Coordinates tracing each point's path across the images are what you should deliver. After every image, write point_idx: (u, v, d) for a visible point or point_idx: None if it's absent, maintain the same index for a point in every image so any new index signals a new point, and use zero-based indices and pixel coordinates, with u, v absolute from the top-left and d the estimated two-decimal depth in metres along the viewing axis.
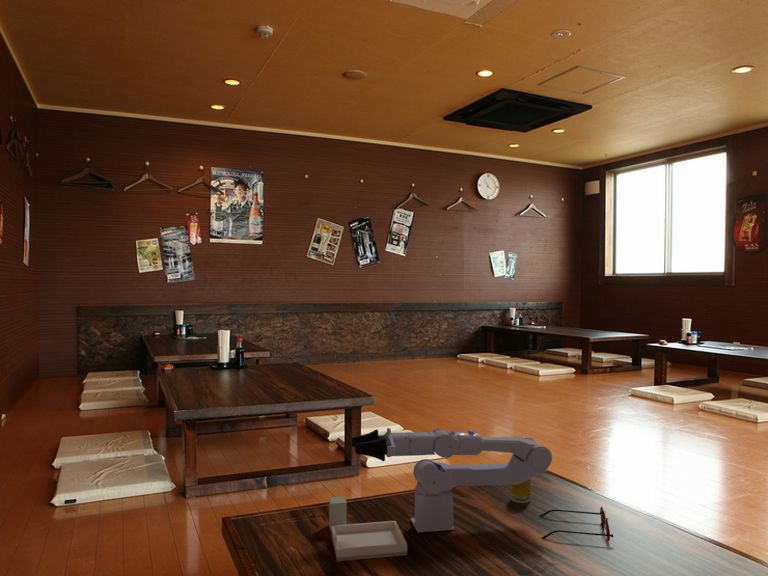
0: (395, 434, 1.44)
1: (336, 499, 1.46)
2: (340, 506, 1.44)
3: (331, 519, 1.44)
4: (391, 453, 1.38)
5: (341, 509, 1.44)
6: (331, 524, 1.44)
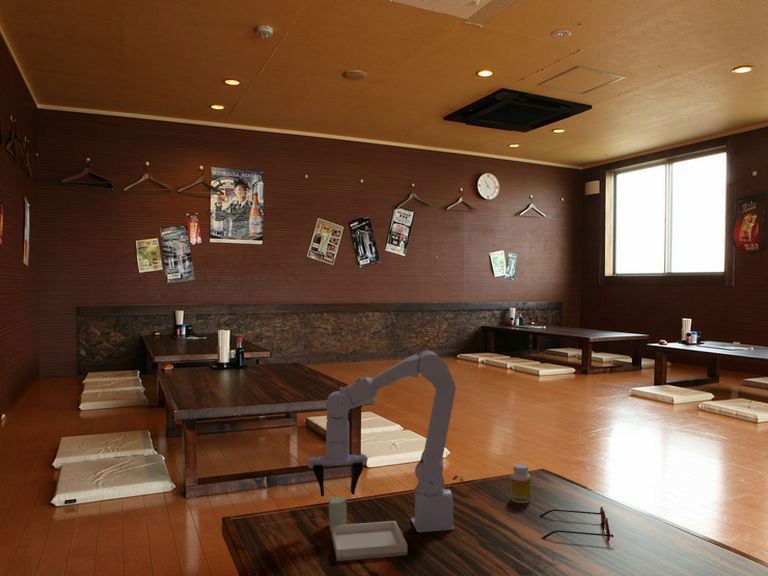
0: None
1: (336, 499, 1.46)
2: (340, 506, 1.44)
3: (331, 519, 1.44)
4: (308, 463, 1.44)
5: (341, 509, 1.44)
6: (331, 524, 1.44)
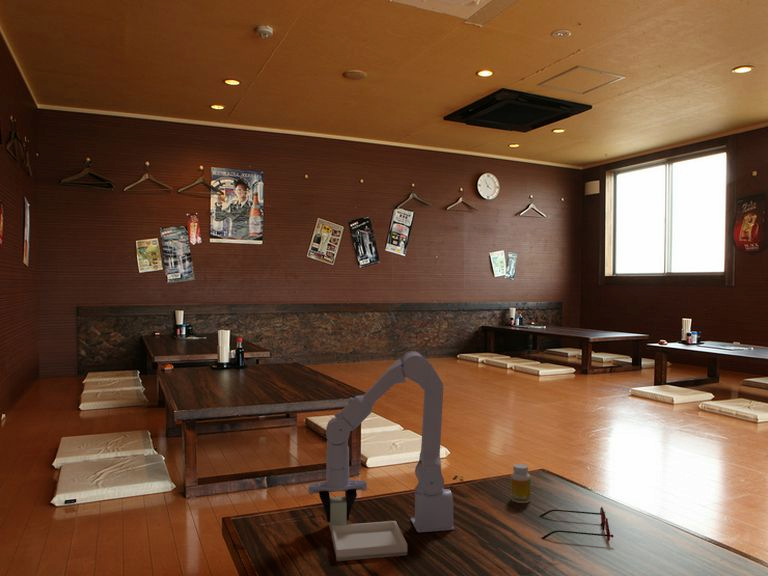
0: None
1: (336, 499, 1.46)
2: (340, 506, 1.44)
3: (331, 519, 1.44)
4: None
5: (341, 509, 1.44)
6: (331, 524, 1.44)
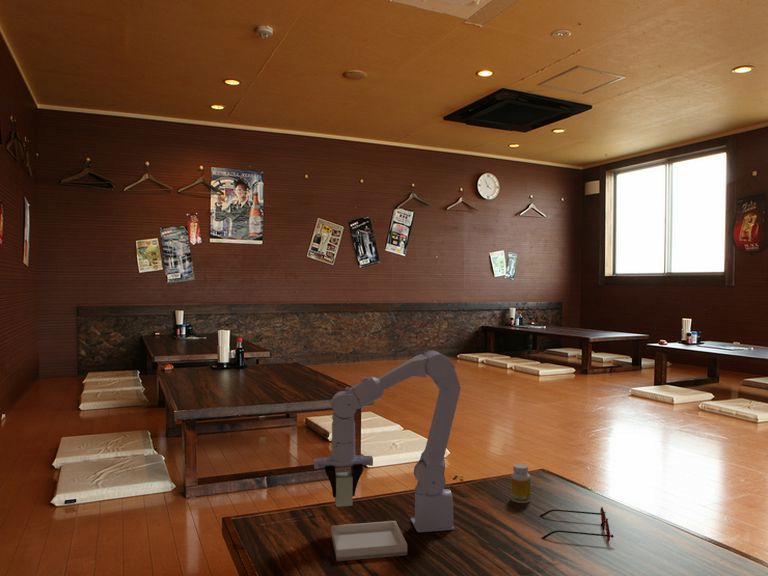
0: None
1: (342, 474, 1.44)
2: (346, 481, 1.42)
3: (337, 494, 1.42)
4: (314, 464, 1.42)
5: (347, 484, 1.42)
6: (337, 499, 1.42)
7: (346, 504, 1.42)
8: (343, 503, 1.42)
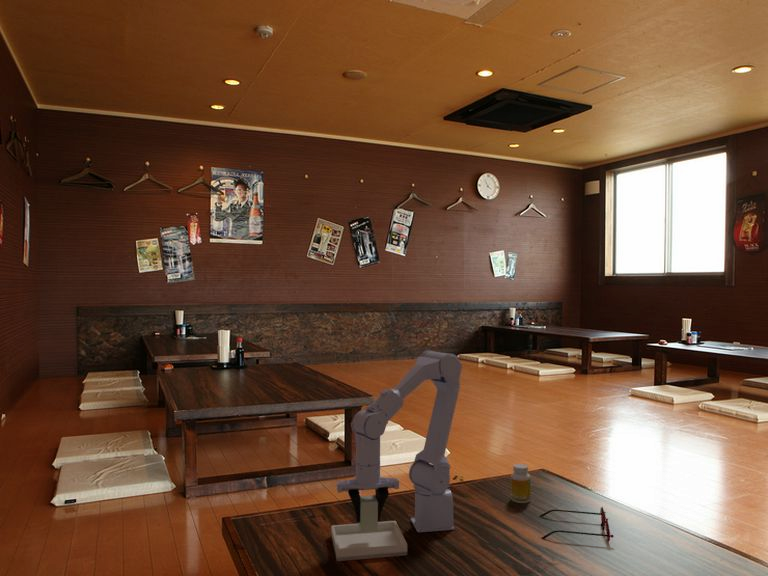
0: None
1: (366, 498, 1.36)
2: (371, 506, 1.34)
3: (361, 519, 1.34)
4: (337, 488, 1.34)
5: (372, 508, 1.34)
6: (361, 524, 1.34)
7: (371, 530, 1.34)
8: (368, 529, 1.34)
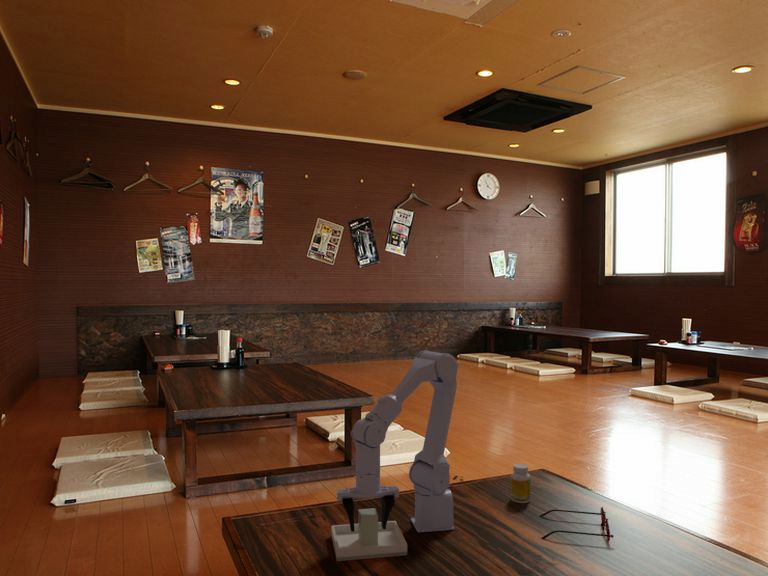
0: None
1: (366, 511, 1.36)
2: (372, 519, 1.34)
3: (362, 533, 1.34)
4: (337, 496, 1.34)
5: (372, 522, 1.34)
6: (362, 538, 1.34)
7: (371, 543, 1.34)
8: (368, 542, 1.34)
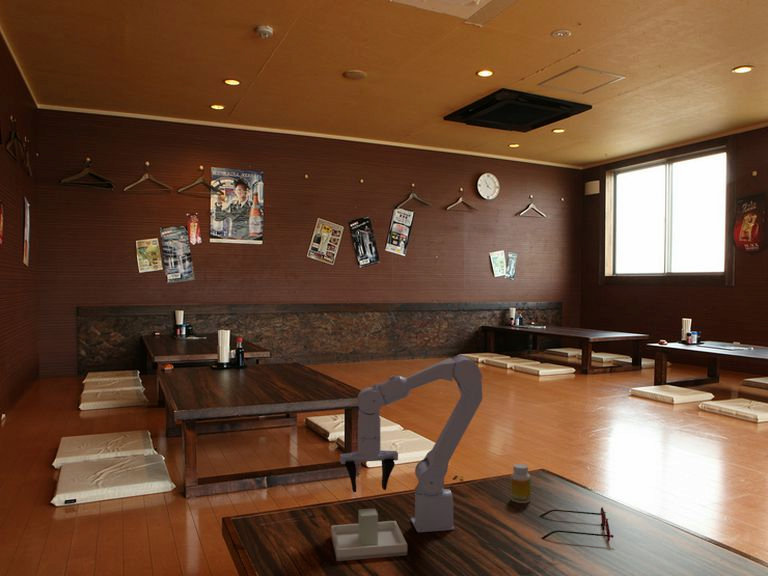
0: None
1: (366, 511, 1.36)
2: (372, 519, 1.34)
3: (362, 533, 1.34)
4: (340, 459, 1.44)
5: (372, 522, 1.34)
6: (362, 538, 1.34)
7: (371, 543, 1.34)
8: (368, 542, 1.34)
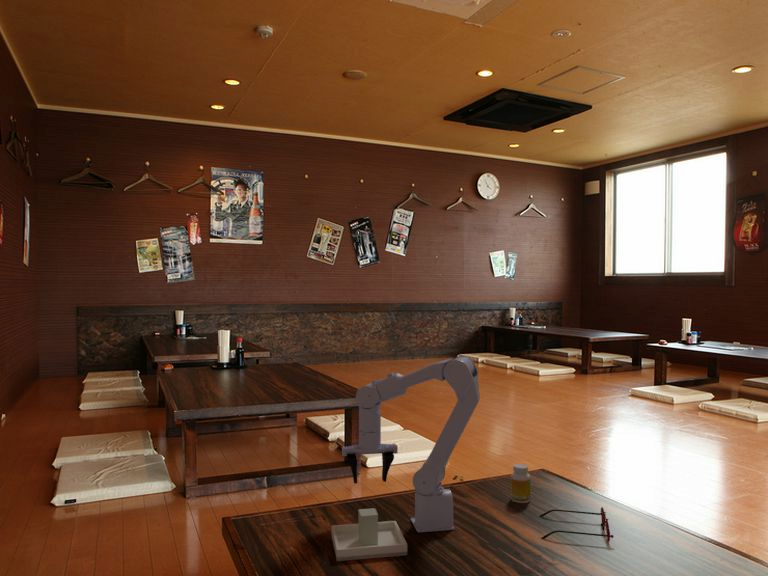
0: None
1: (366, 511, 1.36)
2: (372, 519, 1.34)
3: (362, 533, 1.34)
4: (342, 452, 1.50)
5: (372, 522, 1.34)
6: (362, 538, 1.34)
7: (371, 543, 1.34)
8: (368, 542, 1.34)
